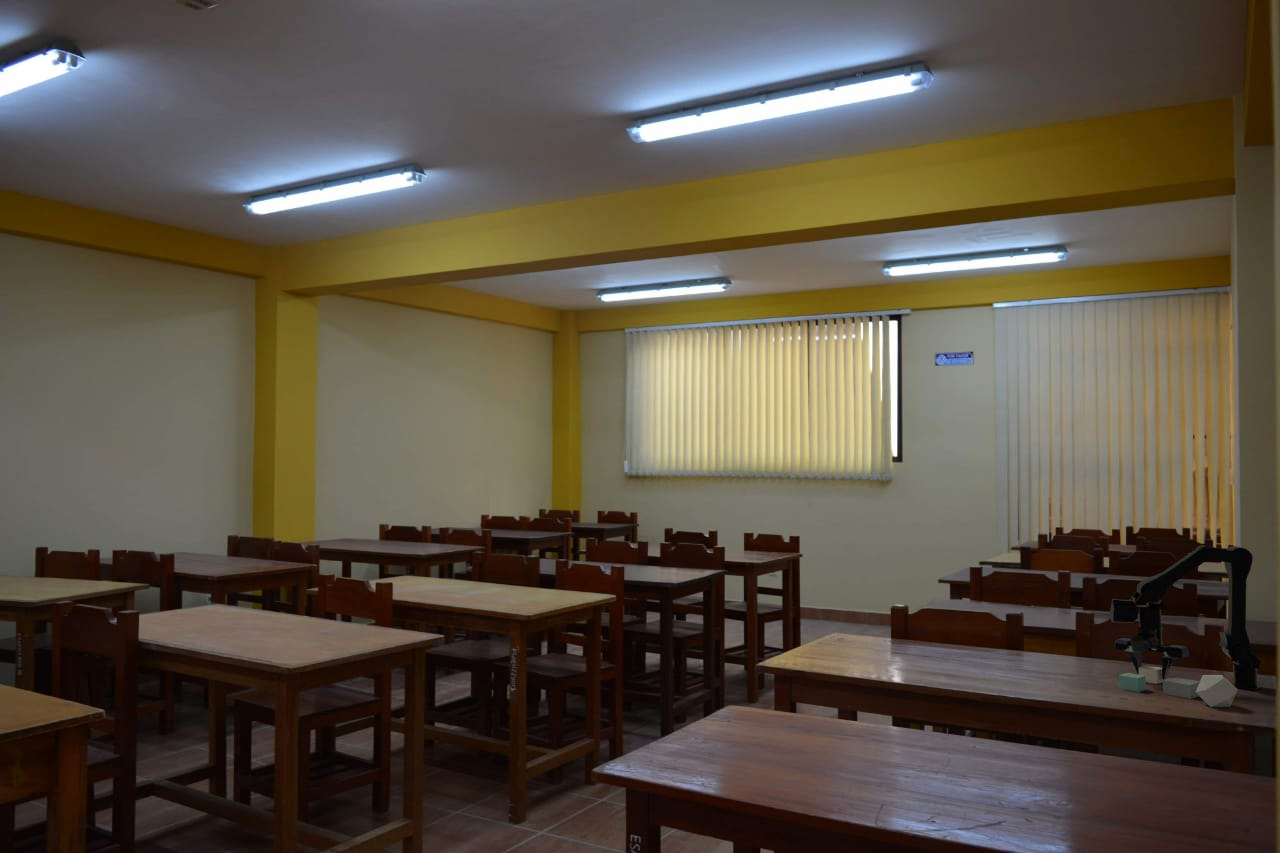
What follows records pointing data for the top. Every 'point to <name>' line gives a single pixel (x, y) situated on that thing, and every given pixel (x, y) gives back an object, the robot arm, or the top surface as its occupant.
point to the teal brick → (1132, 682)
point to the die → (1216, 690)
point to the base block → (1180, 687)
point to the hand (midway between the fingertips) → (1151, 677)
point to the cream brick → (1151, 674)
